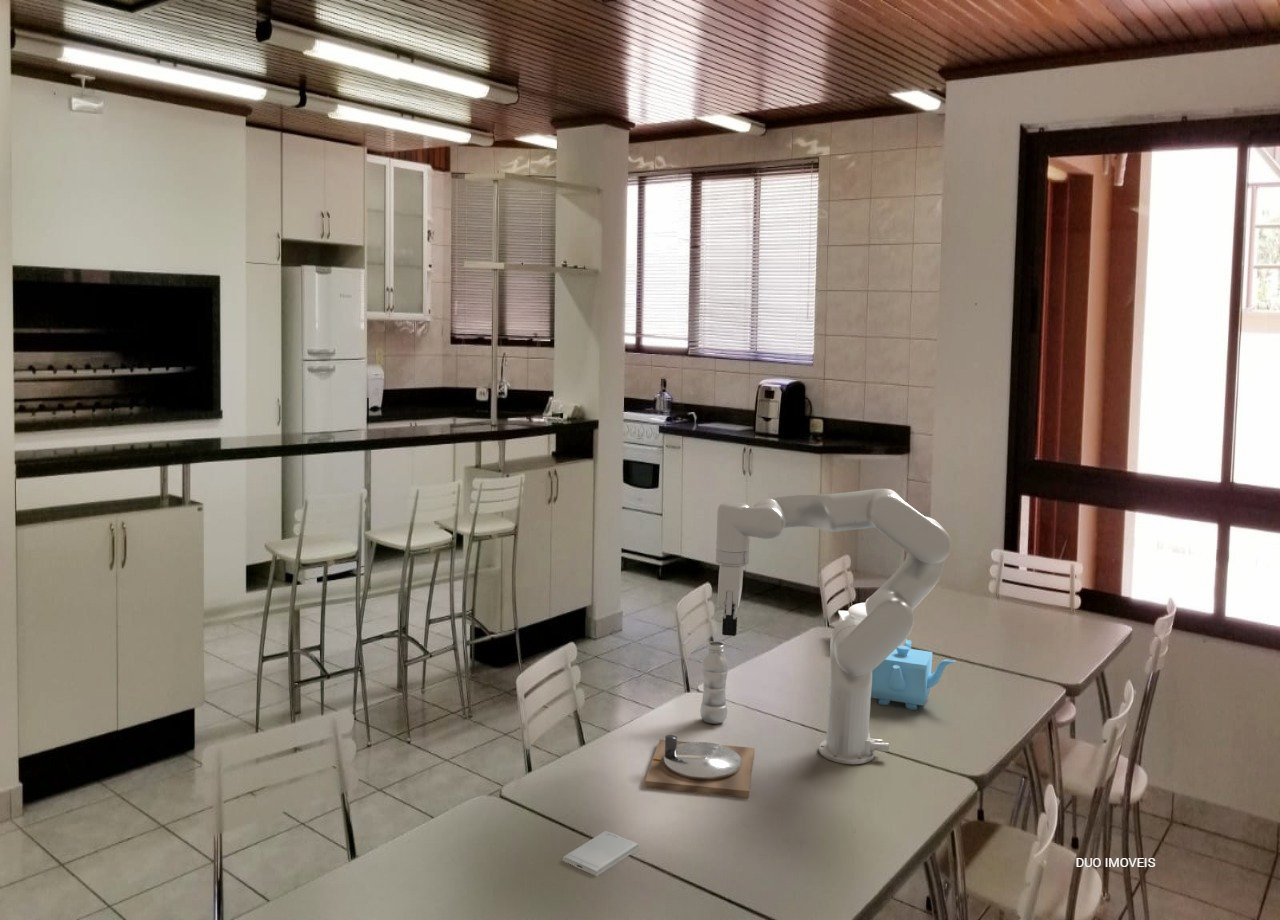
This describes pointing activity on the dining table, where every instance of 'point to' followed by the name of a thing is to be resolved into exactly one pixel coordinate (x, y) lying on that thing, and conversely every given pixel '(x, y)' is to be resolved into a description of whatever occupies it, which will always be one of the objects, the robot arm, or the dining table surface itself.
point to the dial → (700, 759)
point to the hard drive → (601, 853)
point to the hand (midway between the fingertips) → (729, 634)
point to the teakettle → (906, 677)
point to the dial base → (726, 786)
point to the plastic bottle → (714, 684)
